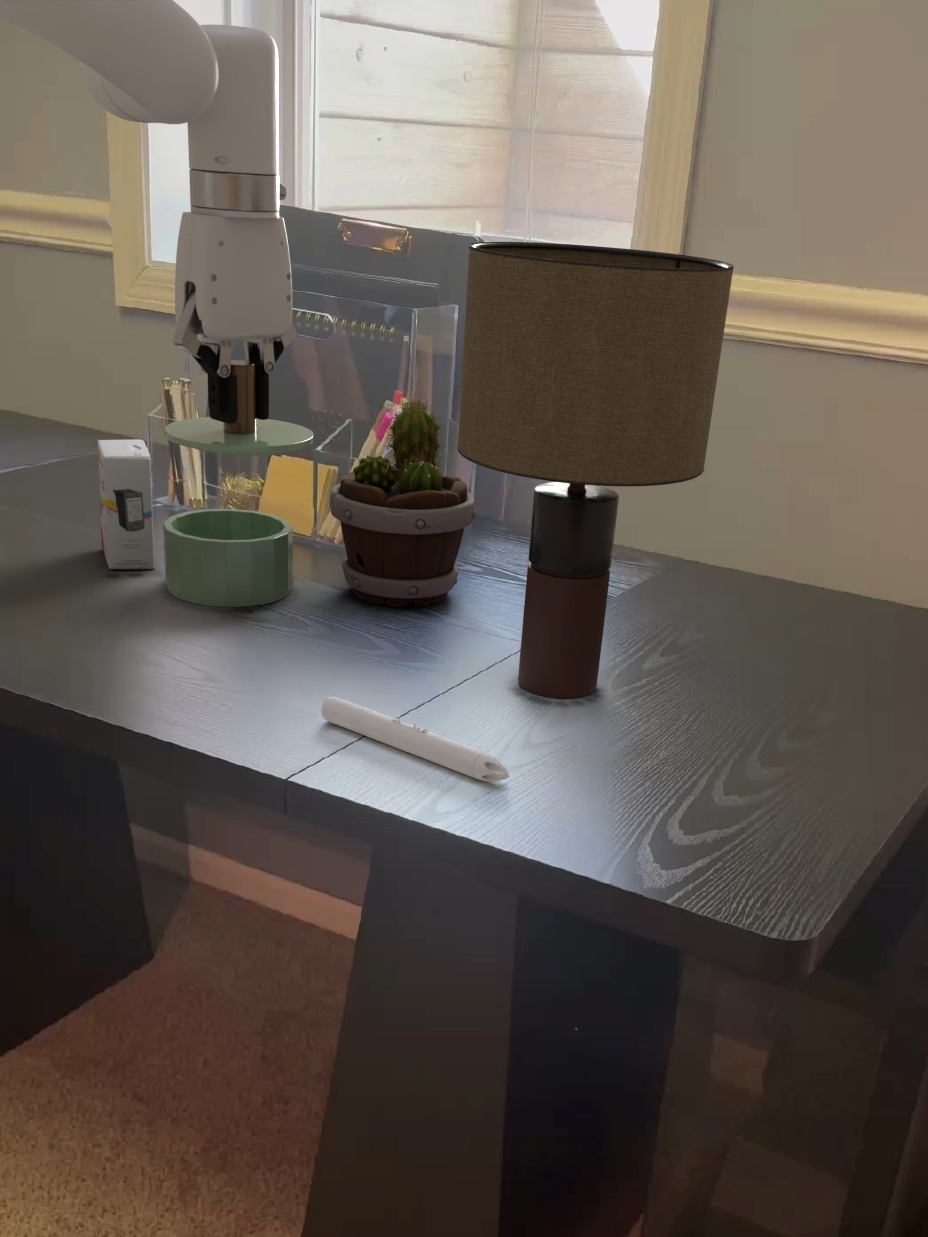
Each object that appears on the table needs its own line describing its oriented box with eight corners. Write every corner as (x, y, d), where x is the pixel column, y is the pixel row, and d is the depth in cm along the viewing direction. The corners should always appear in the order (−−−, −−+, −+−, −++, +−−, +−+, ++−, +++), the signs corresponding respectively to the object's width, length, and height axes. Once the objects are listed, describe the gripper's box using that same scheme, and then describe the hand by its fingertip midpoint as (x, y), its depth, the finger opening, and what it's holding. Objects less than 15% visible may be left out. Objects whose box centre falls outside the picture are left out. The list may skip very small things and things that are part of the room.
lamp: (715, 693, 116) (785, 267, 100) (567, 749, 103) (619, 269, 86) (549, 631, 128) (586, 242, 112) (397, 673, 115) (414, 240, 99)
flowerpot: (441, 625, 127) (453, 414, 118) (301, 599, 132) (302, 393, 122) (491, 587, 140) (506, 393, 130) (361, 564, 144) (366, 374, 134)
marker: (516, 785, 97) (519, 756, 96) (500, 793, 95) (502, 764, 94) (338, 716, 106) (338, 689, 105) (320, 723, 104) (320, 696, 103)
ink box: (101, 548, 143) (93, 437, 137) (148, 547, 144) (142, 438, 139) (108, 571, 135) (100, 456, 130) (157, 570, 137) (152, 456, 131)
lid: (173, 460, 113) (169, 373, 110) (158, 428, 124) (154, 348, 121) (327, 460, 117) (328, 376, 114) (298, 429, 128) (298, 352, 125)
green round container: (175, 609, 126) (172, 543, 123) (160, 571, 137) (156, 509, 134) (303, 604, 130) (303, 540, 127) (278, 567, 141) (278, 507, 138)
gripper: (280, 195, 119) (281, 404, 127) (127, 190, 108) (140, 419, 116) (335, 202, 114) (332, 418, 123) (182, 197, 103) (191, 435, 112)
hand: (239, 416), depth 120 cm, fingers closed on lid, 3 cm apart
